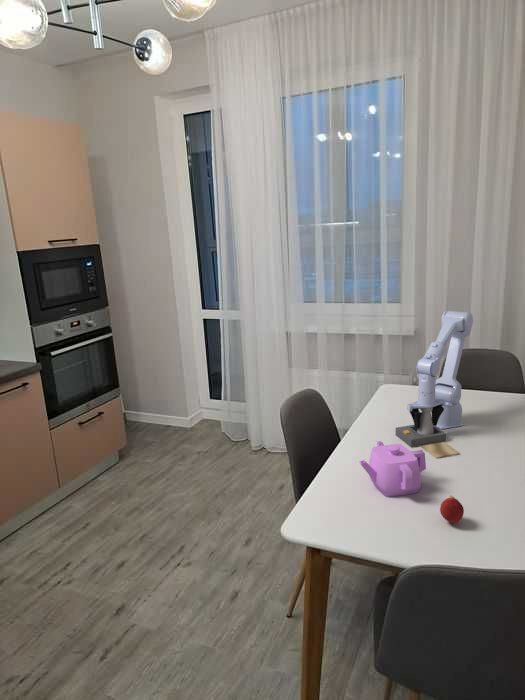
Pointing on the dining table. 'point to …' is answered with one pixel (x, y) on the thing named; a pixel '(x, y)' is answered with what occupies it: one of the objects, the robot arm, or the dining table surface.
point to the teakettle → (395, 469)
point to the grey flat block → (419, 436)
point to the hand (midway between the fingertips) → (425, 426)
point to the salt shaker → (425, 422)
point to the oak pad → (440, 450)
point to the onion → (452, 510)
